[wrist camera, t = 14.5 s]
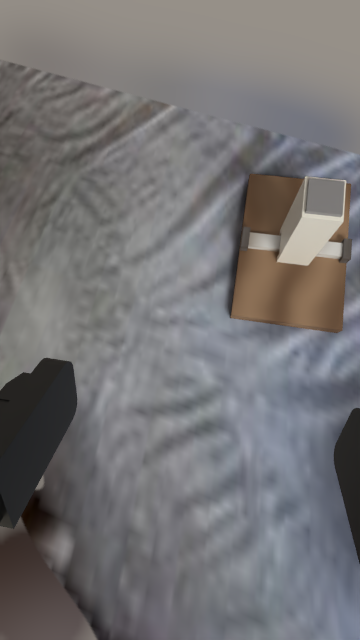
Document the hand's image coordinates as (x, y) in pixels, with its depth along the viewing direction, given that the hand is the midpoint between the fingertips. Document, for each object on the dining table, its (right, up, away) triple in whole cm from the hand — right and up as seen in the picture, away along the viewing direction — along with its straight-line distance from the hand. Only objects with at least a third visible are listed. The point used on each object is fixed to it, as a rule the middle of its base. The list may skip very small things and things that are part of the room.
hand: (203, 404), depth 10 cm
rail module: (+12, +11, +30) cm, 34 cm away
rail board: (+13, +11, +31) cm, 35 cm away
